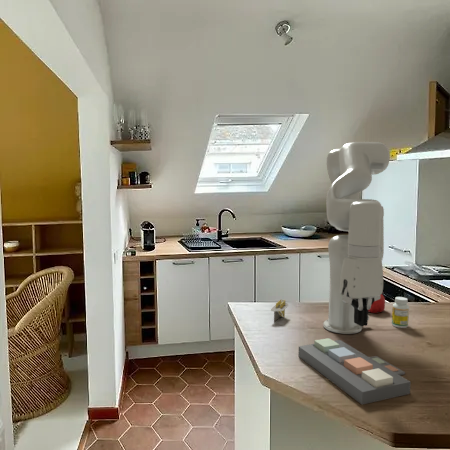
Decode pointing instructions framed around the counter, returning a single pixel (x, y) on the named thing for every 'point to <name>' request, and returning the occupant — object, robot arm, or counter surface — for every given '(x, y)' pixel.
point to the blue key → (340, 354)
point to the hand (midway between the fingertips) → (360, 324)
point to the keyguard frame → (353, 375)
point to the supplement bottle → (400, 312)
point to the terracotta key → (357, 365)
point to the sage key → (325, 344)
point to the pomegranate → (378, 305)
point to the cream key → (377, 377)
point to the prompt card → (388, 365)
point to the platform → (279, 309)
